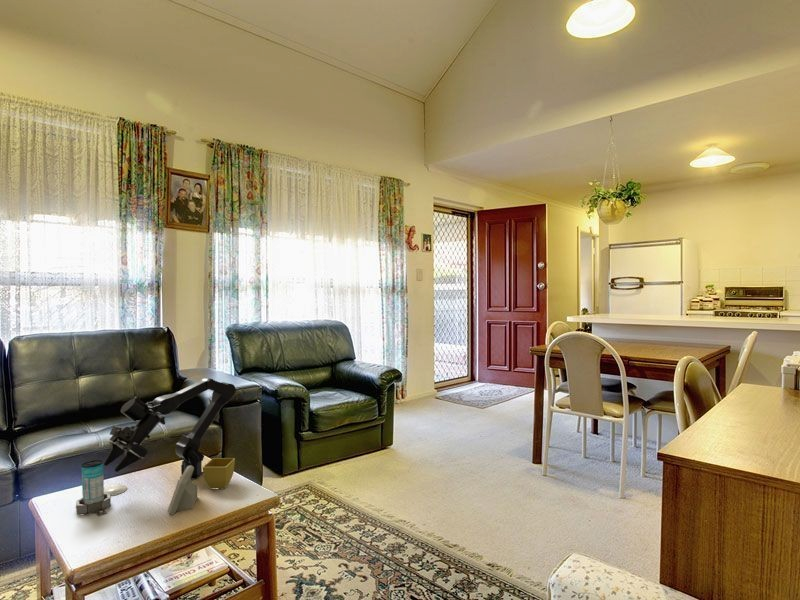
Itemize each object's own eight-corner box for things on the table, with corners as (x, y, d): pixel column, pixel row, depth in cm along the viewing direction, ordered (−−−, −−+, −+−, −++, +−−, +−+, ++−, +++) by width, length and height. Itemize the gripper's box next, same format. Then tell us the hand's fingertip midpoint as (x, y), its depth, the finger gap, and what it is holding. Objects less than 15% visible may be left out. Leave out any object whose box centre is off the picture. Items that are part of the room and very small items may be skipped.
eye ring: (124, 502, 160) (124, 493, 160) (102, 516, 151) (101, 507, 150) (86, 500, 163) (85, 491, 162) (61, 513, 153) (61, 504, 153)
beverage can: (100, 502, 161) (99, 458, 160) (107, 507, 157) (105, 462, 157) (80, 508, 156) (79, 463, 156) (86, 514, 152) (85, 468, 152)
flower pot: (226, 491, 168) (226, 466, 168) (202, 491, 168) (201, 466, 168) (236, 481, 177) (235, 457, 176) (212, 481, 177) (212, 458, 177)
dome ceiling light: (132, 486, 174) (132, 484, 174) (114, 497, 165) (114, 495, 165) (110, 485, 175) (110, 483, 175) (91, 495, 166) (91, 493, 166)
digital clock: (180, 494, 166) (179, 464, 166) (205, 493, 166) (205, 463, 166) (157, 516, 150) (156, 483, 150) (186, 515, 150) (185, 482, 150)
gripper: (115, 411, 170) (80, 450, 162) (137, 420, 158) (101, 462, 150) (138, 428, 176) (106, 466, 168) (161, 437, 165) (128, 479, 156)
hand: (110, 468), depth 160 cm, fingers open, 9 cm apart
